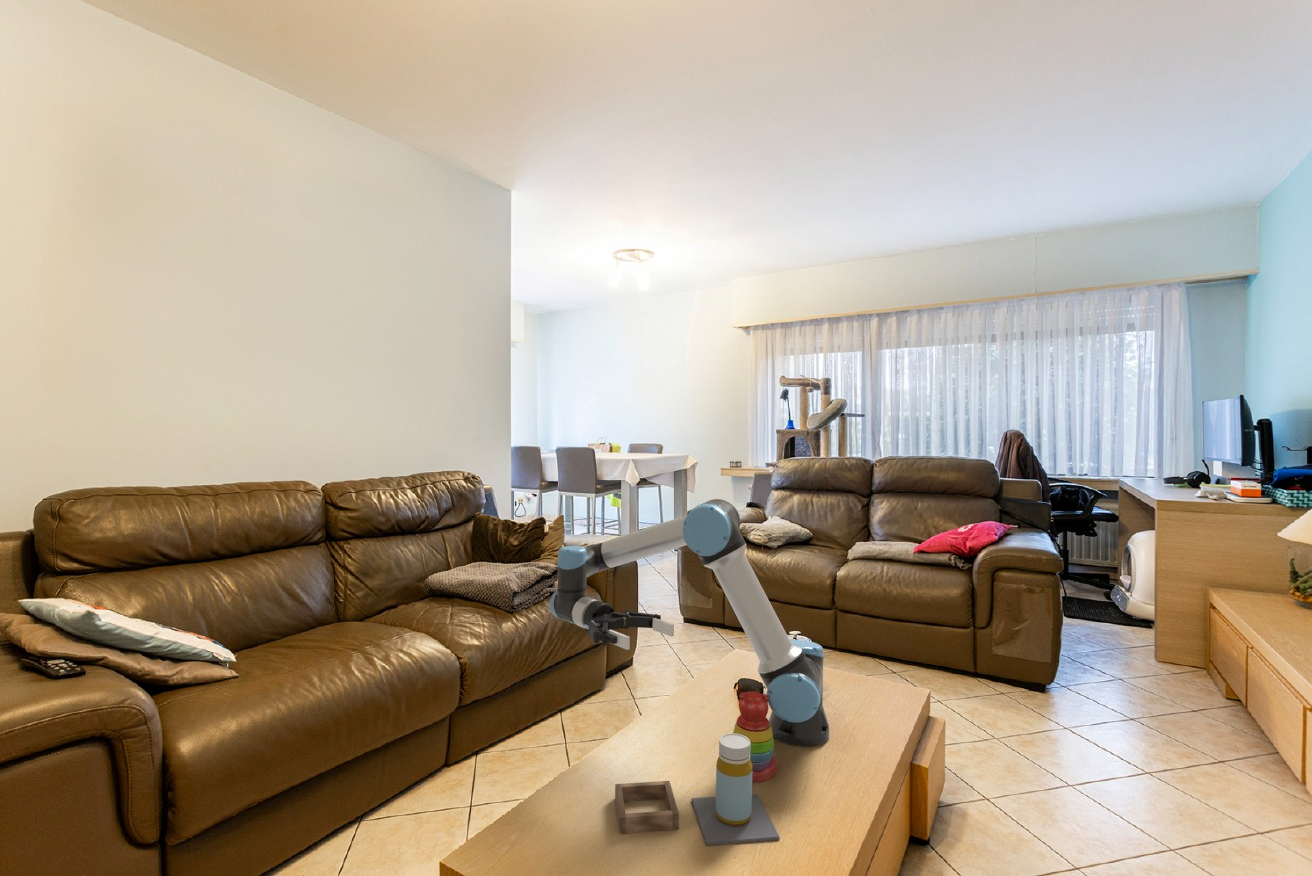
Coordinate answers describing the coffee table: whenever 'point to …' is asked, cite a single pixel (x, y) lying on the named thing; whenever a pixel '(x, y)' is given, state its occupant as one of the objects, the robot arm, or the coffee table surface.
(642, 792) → the walnut collar
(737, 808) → the bottle
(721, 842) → the charcoal mat
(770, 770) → the stacking bear
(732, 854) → the coffee table surface
